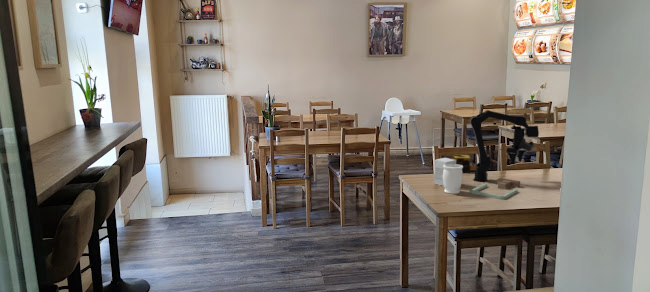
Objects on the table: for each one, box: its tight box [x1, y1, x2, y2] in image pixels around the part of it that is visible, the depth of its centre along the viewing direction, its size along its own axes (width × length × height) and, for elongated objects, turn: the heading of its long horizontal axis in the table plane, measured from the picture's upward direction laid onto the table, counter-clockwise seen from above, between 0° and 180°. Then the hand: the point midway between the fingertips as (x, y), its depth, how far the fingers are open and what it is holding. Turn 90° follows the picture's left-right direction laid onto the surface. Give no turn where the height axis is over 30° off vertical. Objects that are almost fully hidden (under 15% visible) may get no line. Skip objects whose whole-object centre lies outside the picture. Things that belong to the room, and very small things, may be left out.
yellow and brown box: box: [453, 154, 471, 174], centre depth 313 cm, size 10×10×10 cm
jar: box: [443, 164, 464, 195], centre depth 264 cm, size 11×10×15 cm
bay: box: [469, 183, 519, 201], centre depth 263 cm, size 19×19×2 cm
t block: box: [496, 177, 521, 190], centre depth 275 cm, size 12×12×3 cm
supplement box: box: [433, 157, 456, 187], centre depth 280 cm, size 9×9×15 cm
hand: (516, 162), depth 284 cm, fingers open, 9 cm apart
